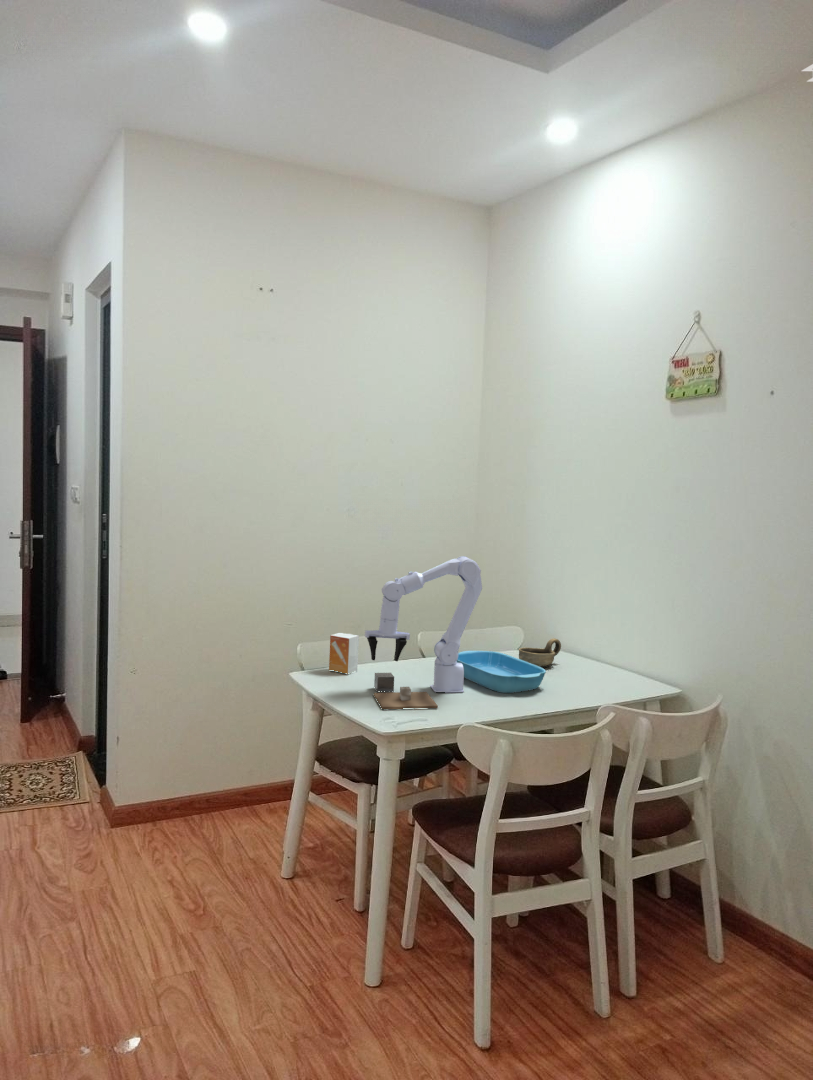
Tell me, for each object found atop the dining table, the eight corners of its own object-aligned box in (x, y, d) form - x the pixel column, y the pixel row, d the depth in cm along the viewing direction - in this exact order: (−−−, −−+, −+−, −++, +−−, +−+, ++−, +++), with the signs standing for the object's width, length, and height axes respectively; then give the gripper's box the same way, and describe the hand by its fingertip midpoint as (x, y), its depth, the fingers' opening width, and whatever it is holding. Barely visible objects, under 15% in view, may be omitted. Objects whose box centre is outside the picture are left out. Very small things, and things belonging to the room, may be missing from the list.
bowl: (510, 662, 306) (511, 636, 306) (548, 660, 314) (550, 634, 313) (529, 671, 294) (531, 644, 293) (569, 668, 301) (571, 642, 300)
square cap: (390, 687, 265) (391, 672, 264) (393, 692, 260) (394, 676, 259) (374, 687, 264) (374, 672, 263) (377, 692, 258) (377, 677, 258)
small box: (328, 671, 282) (329, 634, 281) (338, 668, 288) (340, 632, 286) (347, 675, 278) (349, 638, 277) (357, 671, 284) (359, 635, 283)
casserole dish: (557, 692, 268) (558, 671, 268) (504, 700, 257) (505, 677, 256) (490, 666, 300) (491, 647, 299) (440, 672, 288) (441, 652, 288)
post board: (426, 694, 258) (426, 681, 258) (437, 708, 243) (438, 694, 243) (373, 695, 254) (374, 681, 254) (382, 710, 240) (382, 695, 239)
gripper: (407, 617, 266) (402, 658, 267) (364, 614, 261) (360, 656, 263) (413, 621, 259) (408, 663, 260) (369, 619, 255) (364, 661, 256)
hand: (384, 660), depth 261 cm, fingers open, 7 cm apart
